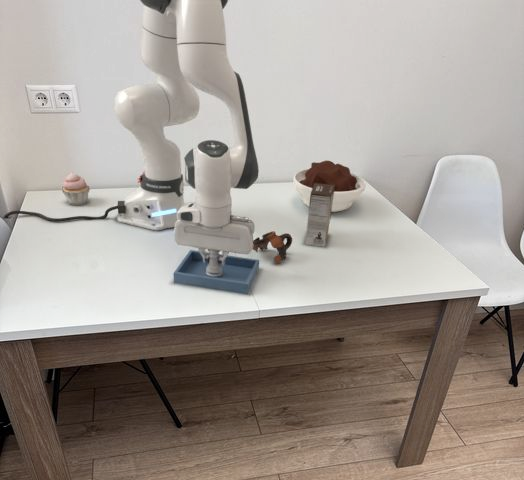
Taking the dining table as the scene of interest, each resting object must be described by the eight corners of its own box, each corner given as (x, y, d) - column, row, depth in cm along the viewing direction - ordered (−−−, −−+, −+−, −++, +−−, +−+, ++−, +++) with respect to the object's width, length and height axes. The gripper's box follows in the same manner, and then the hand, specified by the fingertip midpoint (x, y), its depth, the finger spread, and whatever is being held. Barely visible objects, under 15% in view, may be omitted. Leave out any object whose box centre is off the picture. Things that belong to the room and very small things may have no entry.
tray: (174, 283, 126) (173, 272, 125) (190, 259, 137) (190, 249, 135) (247, 294, 124) (248, 284, 122) (258, 269, 134) (259, 259, 133)
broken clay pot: (269, 269, 136) (257, 242, 133) (255, 269, 144) (243, 243, 141) (303, 250, 139) (292, 223, 136) (287, 251, 148) (276, 226, 145)
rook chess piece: (215, 268, 133) (214, 241, 128) (226, 274, 130) (226, 247, 125) (202, 273, 130) (201, 245, 125) (213, 279, 128) (212, 252, 123)
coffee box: (308, 232, 156) (314, 182, 146) (328, 235, 155) (335, 184, 145) (304, 244, 148) (310, 192, 139) (325, 247, 148) (332, 195, 138)
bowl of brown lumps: (374, 207, 176) (382, 164, 167) (334, 226, 160) (341, 180, 151) (318, 188, 188) (323, 147, 179) (276, 204, 173) (279, 161, 164)
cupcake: (87, 195, 170) (82, 166, 164) (95, 204, 164) (91, 174, 158) (60, 199, 166) (54, 169, 160) (67, 209, 160) (61, 178, 154)
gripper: (257, 213, 121) (255, 263, 129) (178, 203, 124) (181, 252, 132) (252, 223, 116) (249, 274, 125) (170, 212, 119) (173, 263, 127)
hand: (214, 263), depth 128 cm, fingers closed on rook chess piece, 3 cm apart
